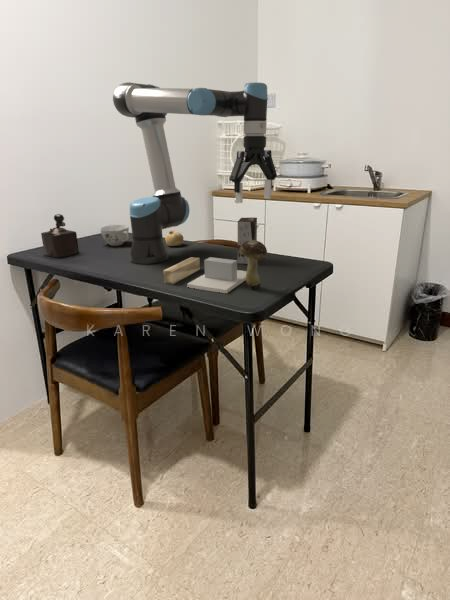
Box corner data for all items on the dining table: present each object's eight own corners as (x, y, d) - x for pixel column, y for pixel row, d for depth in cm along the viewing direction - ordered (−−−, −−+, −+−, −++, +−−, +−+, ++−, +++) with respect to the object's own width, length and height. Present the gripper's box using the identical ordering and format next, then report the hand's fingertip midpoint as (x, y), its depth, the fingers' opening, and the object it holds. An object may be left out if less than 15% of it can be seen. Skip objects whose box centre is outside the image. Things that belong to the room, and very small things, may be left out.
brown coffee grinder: (42, 255, 175) (34, 212, 169) (65, 249, 184) (59, 208, 177) (63, 260, 167) (56, 215, 160) (87, 254, 175) (81, 211, 168)
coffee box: (254, 264, 157) (254, 221, 151) (237, 263, 158) (236, 221, 152) (257, 258, 165) (257, 217, 159) (241, 257, 166) (241, 216, 161)
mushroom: (243, 282, 138) (243, 237, 132) (269, 284, 135) (270, 238, 130) (236, 292, 129) (235, 244, 124) (263, 294, 127) (264, 246, 121)
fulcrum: (187, 287, 134) (186, 265, 131) (216, 270, 151) (216, 251, 148) (226, 293, 128) (225, 271, 125) (252, 275, 145) (252, 255, 142)
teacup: (96, 245, 190) (94, 227, 187) (118, 240, 199) (116, 223, 196) (117, 249, 181) (115, 231, 179) (139, 244, 191) (137, 226, 188)
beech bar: (164, 283, 139) (163, 270, 137) (191, 268, 154) (191, 257, 152) (173, 284, 138) (172, 271, 136) (200, 269, 153) (199, 258, 151)
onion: (171, 243, 192) (170, 227, 189) (186, 244, 189) (185, 228, 187) (162, 247, 185) (161, 231, 182) (179, 248, 182) (178, 232, 180)
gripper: (233, 135, 128) (233, 205, 136) (288, 135, 143) (285, 198, 151) (218, 135, 134) (219, 202, 142) (273, 135, 149) (271, 195, 156)
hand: (253, 200), depth 146 cm, fingers open, 13 cm apart
